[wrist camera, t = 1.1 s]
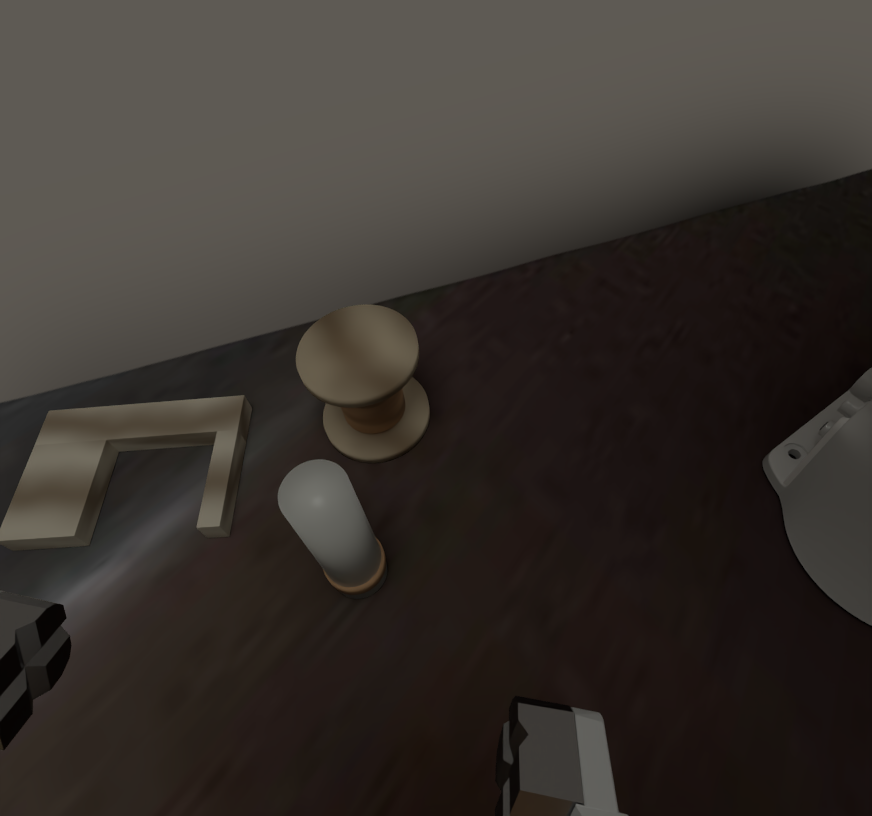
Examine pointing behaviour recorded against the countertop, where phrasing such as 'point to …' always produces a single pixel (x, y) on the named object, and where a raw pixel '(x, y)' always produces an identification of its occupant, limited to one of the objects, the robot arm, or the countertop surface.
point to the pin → (334, 527)
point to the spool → (366, 381)
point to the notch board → (96, 456)
